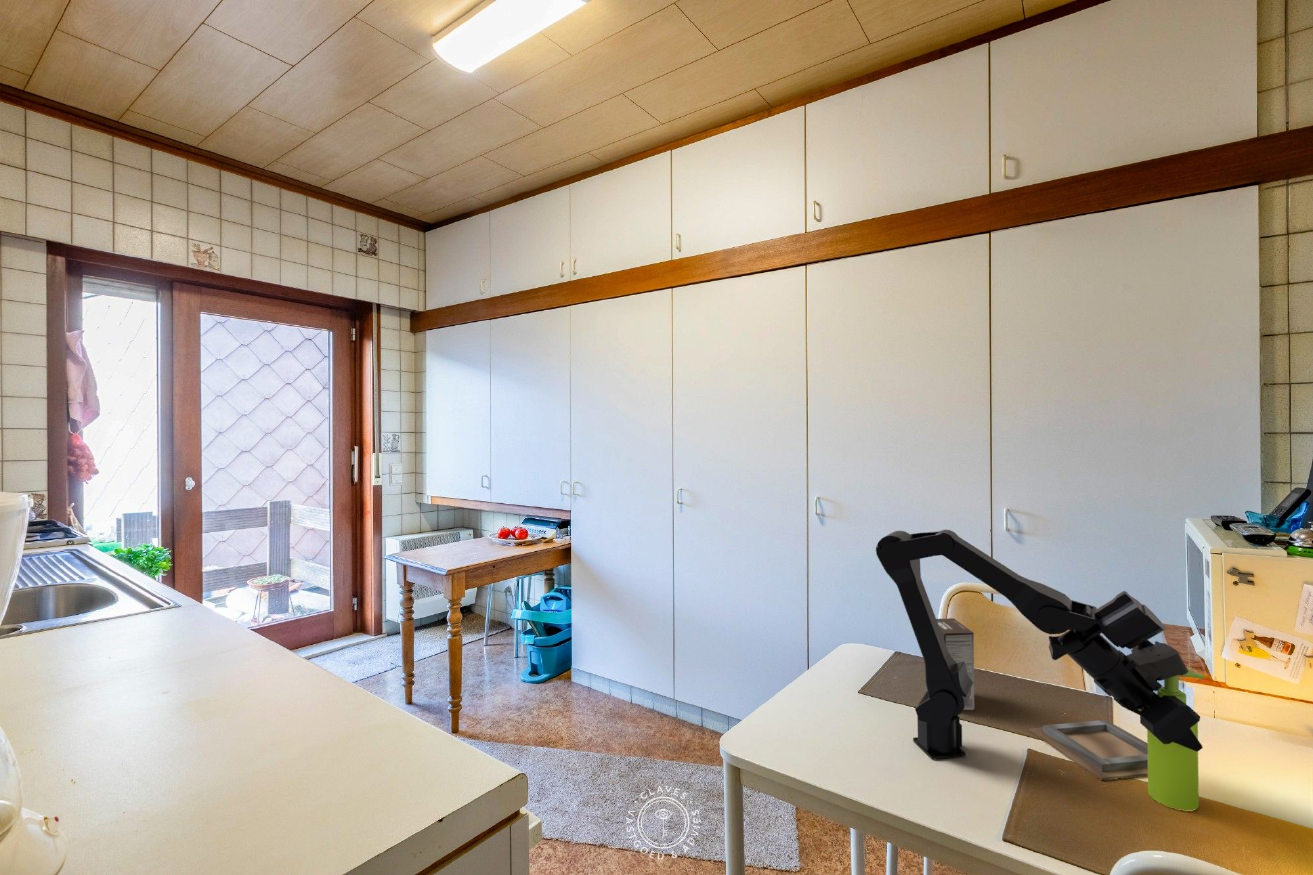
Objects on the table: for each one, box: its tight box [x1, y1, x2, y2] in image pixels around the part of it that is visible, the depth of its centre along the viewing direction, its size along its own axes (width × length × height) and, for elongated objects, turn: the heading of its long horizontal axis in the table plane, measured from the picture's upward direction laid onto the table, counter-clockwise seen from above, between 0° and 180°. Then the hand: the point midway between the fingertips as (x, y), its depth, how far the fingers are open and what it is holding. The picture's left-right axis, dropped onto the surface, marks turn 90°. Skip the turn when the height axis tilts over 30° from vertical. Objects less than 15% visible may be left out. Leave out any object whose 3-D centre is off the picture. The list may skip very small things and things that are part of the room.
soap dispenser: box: [1146, 669, 1206, 810], centre depth 91 cm, size 6×7×20 cm
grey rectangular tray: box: [1028, 719, 1148, 781], centre depth 106 cm, size 16×16×2 cm
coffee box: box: [936, 617, 975, 711], centre depth 126 cm, size 9×6×16 cm
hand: (1186, 738), depth 91 cm, fingers closed on soap dispenser, 6 cm apart
